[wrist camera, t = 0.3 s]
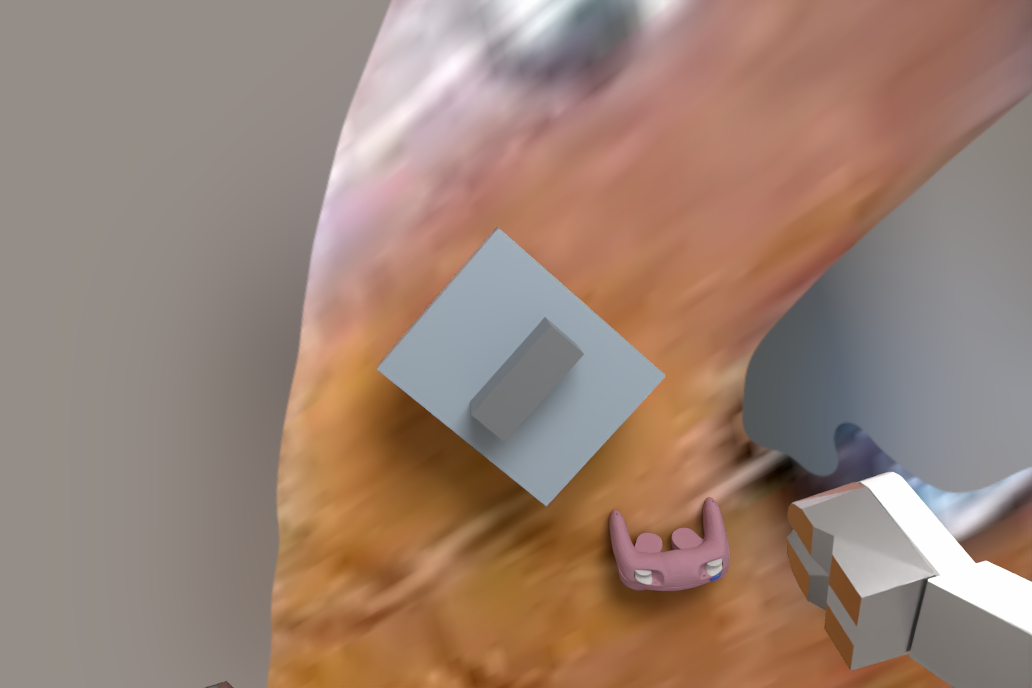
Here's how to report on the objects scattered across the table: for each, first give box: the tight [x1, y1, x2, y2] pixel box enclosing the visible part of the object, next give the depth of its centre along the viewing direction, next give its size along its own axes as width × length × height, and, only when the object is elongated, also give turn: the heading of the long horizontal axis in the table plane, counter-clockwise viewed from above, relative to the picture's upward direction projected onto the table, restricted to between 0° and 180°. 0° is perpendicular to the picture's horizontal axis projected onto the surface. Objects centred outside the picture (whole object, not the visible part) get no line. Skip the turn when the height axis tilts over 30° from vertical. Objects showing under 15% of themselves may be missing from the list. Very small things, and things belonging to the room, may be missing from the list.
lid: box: [377, 227, 666, 506], centre depth 54 cm, size 16×13×6 cm
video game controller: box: [609, 497, 730, 591], centre depth 65 cm, size 10×5×7 cm, turn 96°
